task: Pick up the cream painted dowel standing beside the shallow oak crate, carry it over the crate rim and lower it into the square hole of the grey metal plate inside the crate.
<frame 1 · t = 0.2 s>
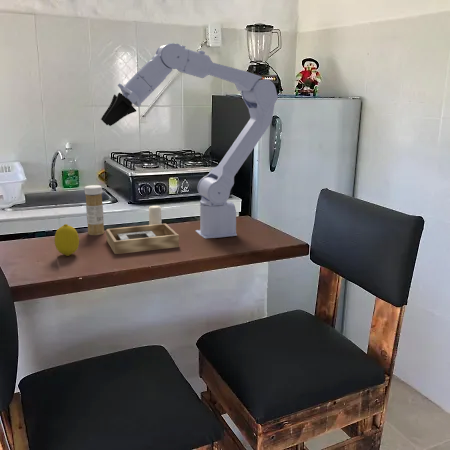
hand: (105, 122, 122), 31 cm above the counter, tool tilted 45°, fingers open, 7 cm apart
crate: (142, 245, 129), on the counter
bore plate: (138, 244, 129), resting on crate
sprinkles bottle: (96, 235, 139), on the counter
lemon: (68, 257, 120), on the counter
peg: (155, 231, 142), on the counter
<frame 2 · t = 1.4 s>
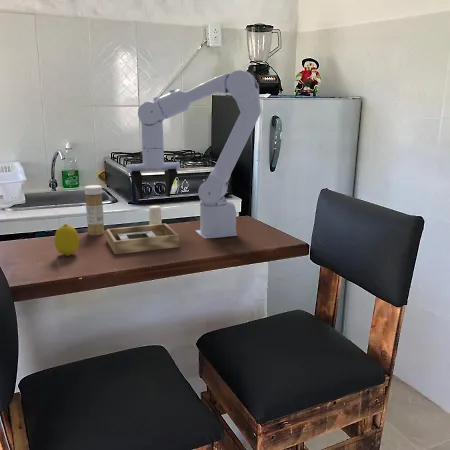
hand: (154, 197, 139), 10 cm above the counter, tool pointing down, fingers open, 7 cm apart
nothing on the counter moved.
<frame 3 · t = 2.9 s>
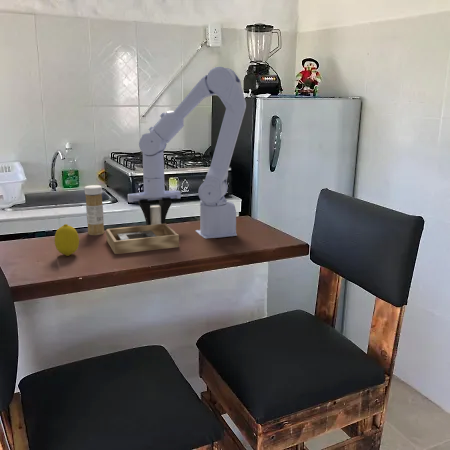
hand: (155, 225, 142), 2 cm above the counter, tool pointing down, fingers closed on peg, 3 cm apart
peg: (155, 231, 142), on the counter, touching gripper
everything else where it was.
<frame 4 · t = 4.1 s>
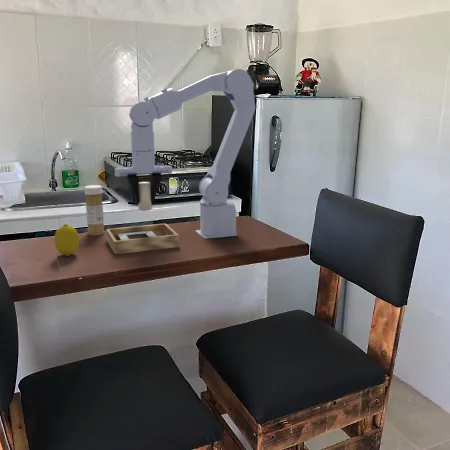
hand: (144, 202, 132), 10 cm above the counter, tool pointing down, fingers closed on peg, 3 cm apart
peg: (145, 209, 133), point 8 cm above the counter, touching gripper
everything else where it was.
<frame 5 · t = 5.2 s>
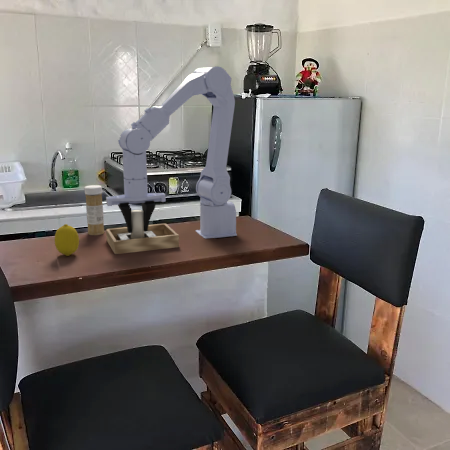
hand: (137, 231, 128), 4 cm above the counter, tool pointing down, fingers closed on peg, 3 cm apart
peg: (137, 238, 129), point 2 cm above the counter, touching gripper
everything else where it was.
when the fingers open (3 cm above the counter, at t = 5.6 s): peg stays where it is, resting on crate.
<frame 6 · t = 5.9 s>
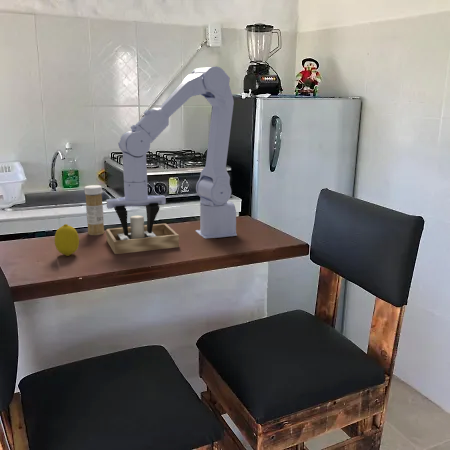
hand: (137, 233, 128), 3 cm above the counter, tool pointing down, fingers open, 5 cm apart
peg: (138, 243, 129), resting on crate
everything else where it was.
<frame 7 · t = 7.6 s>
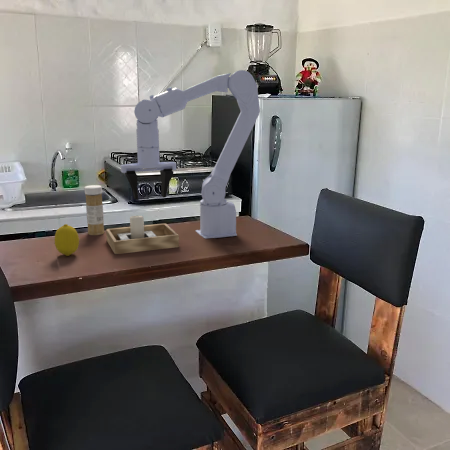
hand: (150, 197, 136), 10 cm above the counter, tool pointing down, fingers open, 7 cm apart
nothing on the counter moved.
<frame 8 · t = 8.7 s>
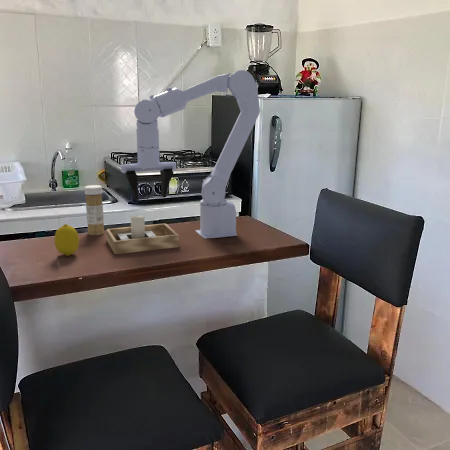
hand: (150, 197, 136), 10 cm above the counter, tool pointing down, fingers open, 7 cm apart
nothing on the counter moved.
at the end: peg 0.3 cm off-centre on the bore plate, point 0.0 cm above the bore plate's base; peg tilted 2°; the gripper is holding nothing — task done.
